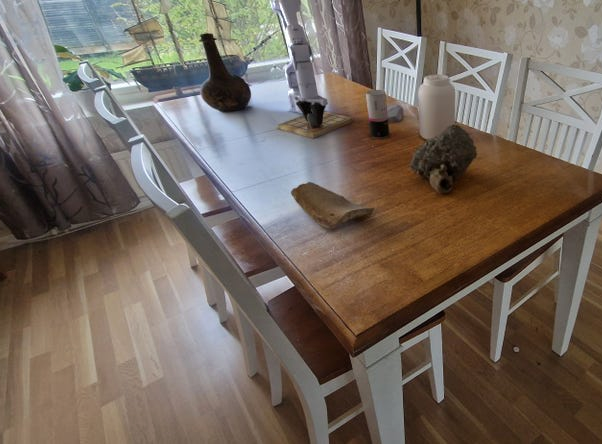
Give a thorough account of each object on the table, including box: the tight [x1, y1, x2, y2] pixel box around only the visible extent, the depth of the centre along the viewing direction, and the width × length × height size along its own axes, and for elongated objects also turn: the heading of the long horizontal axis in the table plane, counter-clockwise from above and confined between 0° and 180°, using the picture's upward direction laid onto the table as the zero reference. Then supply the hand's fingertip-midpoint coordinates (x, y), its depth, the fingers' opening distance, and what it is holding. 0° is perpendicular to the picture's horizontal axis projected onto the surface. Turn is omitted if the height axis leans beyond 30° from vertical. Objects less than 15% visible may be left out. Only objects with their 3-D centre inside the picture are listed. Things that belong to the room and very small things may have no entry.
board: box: [276, 111, 354, 139], centre depth 140 cm, size 18×20×2 cm
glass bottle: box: [198, 32, 252, 112], centre depth 148 cm, size 18×18×28 cm
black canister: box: [306, 111, 322, 128], centre depth 134 cm, size 5×5×5 cm
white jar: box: [417, 73, 456, 141], centre depth 128 cm, size 12×12×20 cm
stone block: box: [387, 104, 404, 123], centre depth 147 cm, size 12×5×10 cm
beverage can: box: [365, 89, 390, 139], centre depth 128 cm, size 7×7×15 cm
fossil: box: [290, 181, 375, 230], centre depth 90 cm, size 22×6×10 cm
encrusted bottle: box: [408, 124, 478, 195], centre depth 100 cm, size 18×14×15 cm
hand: (314, 122), depth 134 cm, fingers closed on black canister, 4 cm apart
